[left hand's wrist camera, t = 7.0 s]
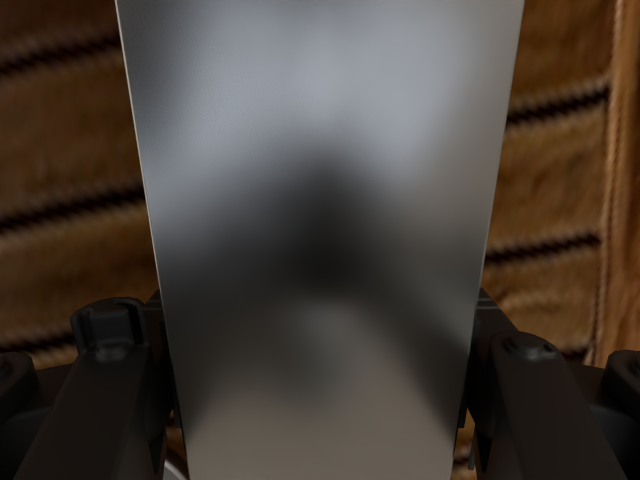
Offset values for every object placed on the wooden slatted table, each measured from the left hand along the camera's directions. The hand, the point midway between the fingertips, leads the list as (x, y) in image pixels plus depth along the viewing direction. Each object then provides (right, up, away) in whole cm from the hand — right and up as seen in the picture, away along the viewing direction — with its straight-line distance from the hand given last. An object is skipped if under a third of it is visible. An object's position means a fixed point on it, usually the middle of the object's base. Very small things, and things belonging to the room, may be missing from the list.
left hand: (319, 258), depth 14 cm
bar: (0, +7, -2) cm, 7 cm away
